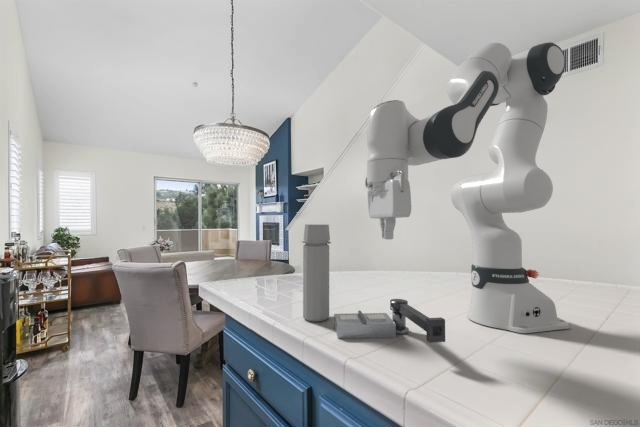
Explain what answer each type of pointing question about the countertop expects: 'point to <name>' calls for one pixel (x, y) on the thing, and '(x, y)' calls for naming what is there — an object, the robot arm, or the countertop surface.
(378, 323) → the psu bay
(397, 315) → the grey round knob
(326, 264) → the water bottle
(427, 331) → the bar
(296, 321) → the countertop surface
